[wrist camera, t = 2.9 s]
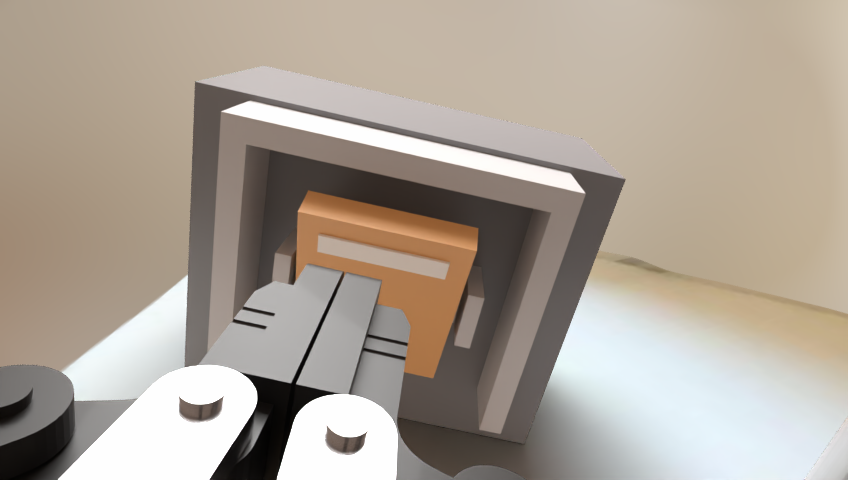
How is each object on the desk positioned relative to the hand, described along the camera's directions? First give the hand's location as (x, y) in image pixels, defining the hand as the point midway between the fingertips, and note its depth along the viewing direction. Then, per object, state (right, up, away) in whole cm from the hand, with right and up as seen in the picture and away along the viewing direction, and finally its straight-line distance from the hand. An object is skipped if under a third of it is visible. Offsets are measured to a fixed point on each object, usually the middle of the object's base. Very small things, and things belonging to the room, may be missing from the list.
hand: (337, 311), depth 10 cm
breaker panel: (-2, -8, +25) cm, 27 cm away
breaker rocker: (-2, -5, +19) cm, 20 cm away
